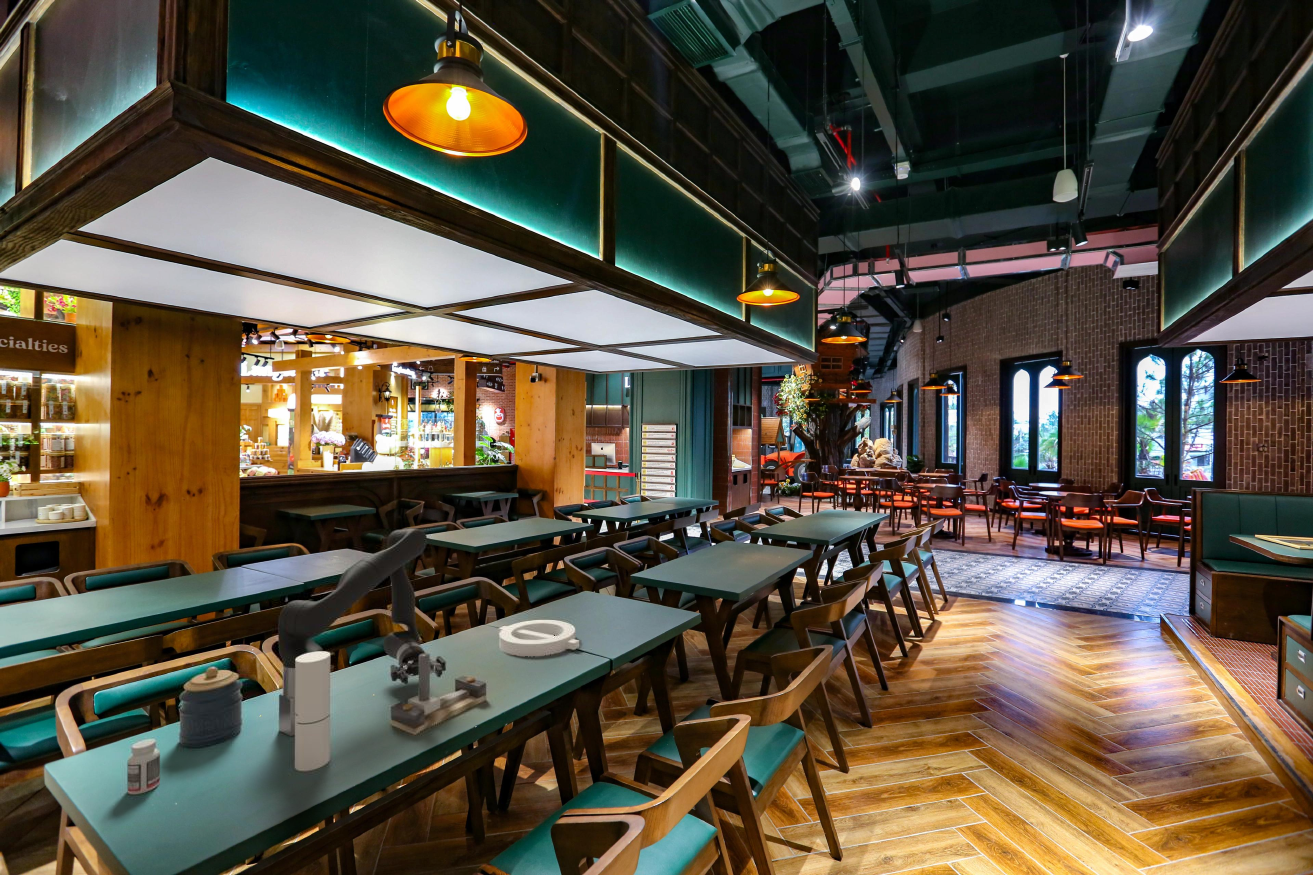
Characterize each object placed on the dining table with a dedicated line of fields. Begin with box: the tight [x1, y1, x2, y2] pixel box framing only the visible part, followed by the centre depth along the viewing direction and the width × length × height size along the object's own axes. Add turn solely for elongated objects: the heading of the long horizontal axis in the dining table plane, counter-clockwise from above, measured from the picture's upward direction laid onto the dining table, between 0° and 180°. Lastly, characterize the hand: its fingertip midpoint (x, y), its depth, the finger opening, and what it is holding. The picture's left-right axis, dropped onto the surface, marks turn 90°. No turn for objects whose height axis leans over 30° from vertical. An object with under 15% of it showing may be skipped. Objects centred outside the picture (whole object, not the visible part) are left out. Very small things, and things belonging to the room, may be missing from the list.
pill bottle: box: [126, 738, 161, 795], centre depth 128 cm, size 5×5×10 cm
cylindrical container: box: [294, 650, 331, 772], centre depth 138 cm, size 7×7×25 cm
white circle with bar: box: [498, 619, 580, 658], centre depth 220 cm, size 28×28×5 cm
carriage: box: [407, 652, 440, 715], centre depth 159 cm, size 5×7×14 cm
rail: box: [390, 675, 487, 735], centre depth 164 cm, size 24×10×6 cm, turn 148°
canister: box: [178, 666, 243, 749], centre depth 150 cm, size 13×13×18 cm
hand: (423, 676), depth 160 cm, fingers open, 8 cm apart
